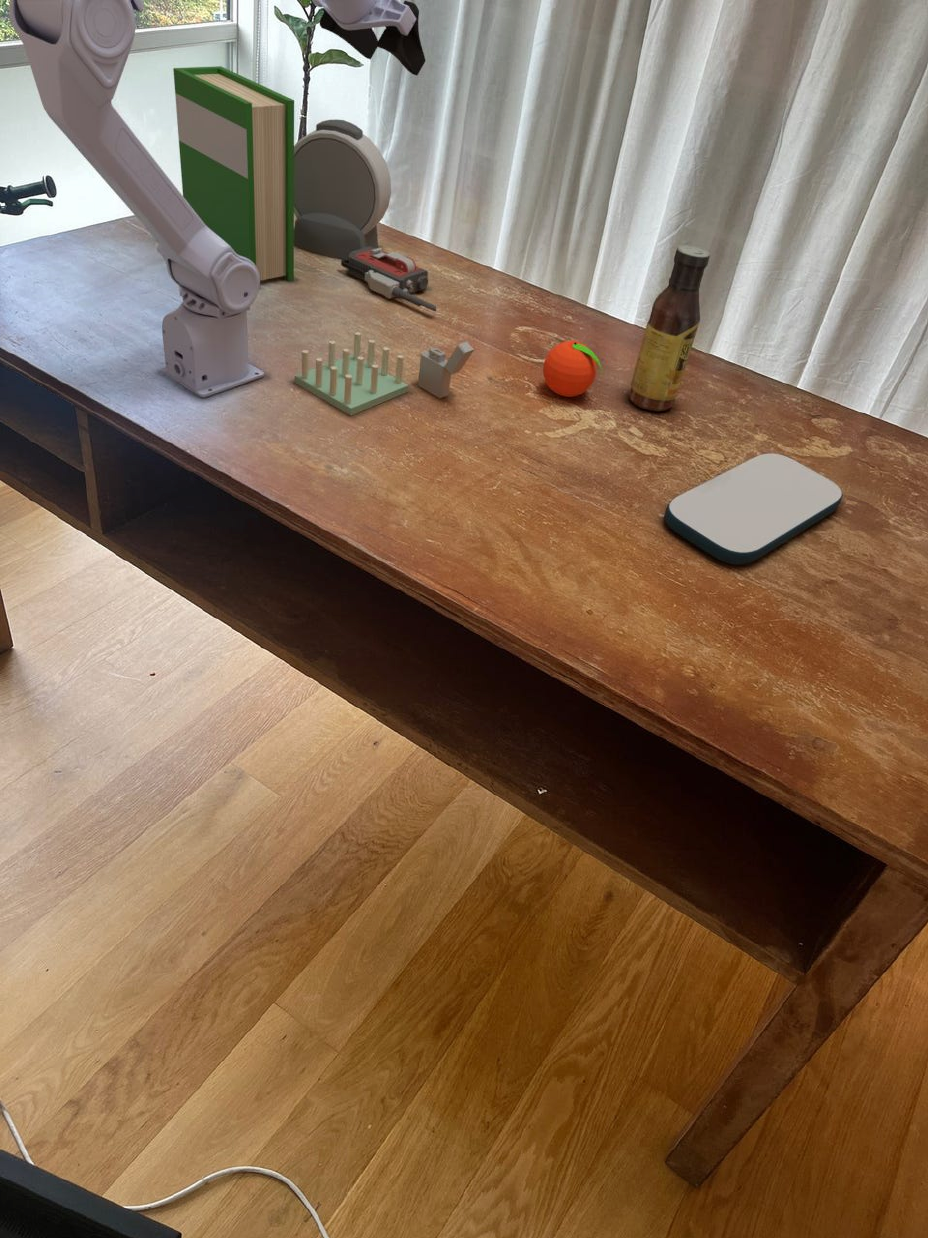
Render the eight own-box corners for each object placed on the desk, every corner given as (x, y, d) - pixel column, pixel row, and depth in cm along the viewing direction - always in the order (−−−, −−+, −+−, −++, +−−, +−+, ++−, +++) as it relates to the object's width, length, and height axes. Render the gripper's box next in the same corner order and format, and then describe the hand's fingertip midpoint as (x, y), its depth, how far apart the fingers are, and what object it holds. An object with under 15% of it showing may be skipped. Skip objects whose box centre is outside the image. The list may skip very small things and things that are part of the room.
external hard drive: (735, 576, 93) (742, 561, 91) (650, 520, 98) (655, 505, 97) (847, 506, 106) (854, 492, 105) (765, 460, 112) (771, 446, 110)
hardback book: (293, 280, 134) (294, 100, 118) (251, 288, 129) (245, 103, 113) (228, 239, 142) (220, 66, 126) (186, 246, 138) (173, 67, 122)
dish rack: (350, 415, 106) (352, 381, 103) (294, 382, 111) (294, 348, 108) (408, 391, 113) (411, 358, 110) (352, 361, 117) (354, 328, 114)
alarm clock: (392, 246, 149) (401, 125, 137) (371, 266, 141) (379, 140, 129) (302, 225, 151) (303, 104, 139) (276, 243, 143) (275, 117, 131)
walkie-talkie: (330, 273, 137) (429, 320, 129) (330, 244, 134) (433, 290, 126) (368, 261, 143) (466, 305, 135) (370, 233, 140) (470, 276, 132)
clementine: (606, 396, 119) (619, 346, 114) (582, 415, 114) (594, 363, 109) (554, 375, 121) (565, 325, 117) (528, 392, 117) (539, 341, 112)
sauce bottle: (672, 418, 117) (720, 266, 104) (625, 407, 117) (667, 255, 104) (673, 395, 122) (720, 247, 108) (628, 385, 122) (669, 237, 109)
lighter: (416, 384, 114) (423, 325, 109) (426, 381, 115) (432, 322, 110) (457, 408, 111) (465, 348, 106) (466, 404, 112) (475, 344, 107)
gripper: (403, -56, 90) (459, 42, 102) (306, -82, 96) (369, 14, 108) (368, 8, 91) (427, 98, 103) (273, -22, 97) (340, 66, 109)
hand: (395, 58), depth 106 cm, fingers open, 7 cm apart
